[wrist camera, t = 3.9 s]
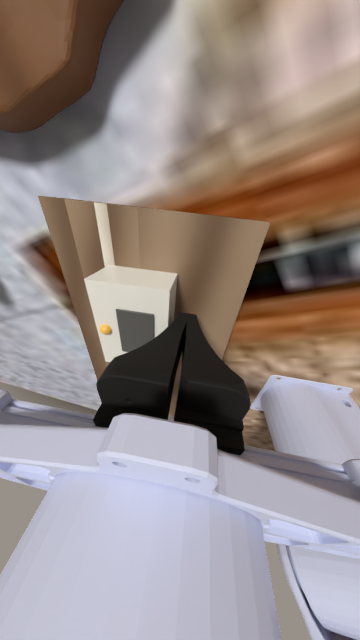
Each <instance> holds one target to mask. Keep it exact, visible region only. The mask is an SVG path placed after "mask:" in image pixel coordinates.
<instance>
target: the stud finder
mask: <svg viewBox="0 0 360 640" xmlns="http://www.w3.org/2000/svg"><path fill="white" fill-rule="evenodd" d="M84 281H85V285H86V289H87V293H88V296H89V300H90V304H91V308H92V312H93V316H94V319H95V323H96V327H97V331H98V335H99V338H100V342H101V346H102V350H103V354H104V358H105V361H106V362H111V361H112V360H113V359H114V357H117V356H120V355H122V354H125V353H127V352H130V351H132V350H134V349H137V348H139V347H141V346H143V345H144V344H146V343H148V342H149V341H151V340H152V339H154V338H155V337H156V336H158V335H159V334H160V333H162V332H163V331H164V330H165V329H166V328H167V327H168V326H169V325H170V324H171V323H172V322H173V321H174V312H175V299H176V287H177V273H169V272H161V271H154V270H146V269H138V268H130V267H123V266H115V265H108V266H107V267H105V268H103V269H101V270H99V271H98V272H96V273H94V274H92V275H90V276H88V277H87V278H85V279H84Z"/></svg>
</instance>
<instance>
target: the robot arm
mask: <svg viewBox="0 0 360 640" xmlns="http://www.w3.org/2000/svg"><path fill="white" fill-rule="evenodd" d="M181 354H182V366H181V377H180V384H179V390H178V396H177V403H176V409H175V415H174V421H171V420H168V416H169V411H170V405H171V399H172V394H173V388H174V382H175V377H176V372H177V368H178V365H179V361H180V358H181ZM278 377H280V378H281V379H279V380H277V379H276V378H278ZM337 388H342V389H340V390H336V389H337ZM97 390H98V393H99V396H100V399H101V402H102V404H101V406H100V408H99V409H98V411H97V413H96V415H90V414H85V413H80V412H75V411H70V410H65V409H60V408H55V407H50V406H45V405H40V404H35V403H29V402H25V401H20V400H15V399H13V397H12V396H11V395H10V394H9V393H8V392H7V391H5V390H3V389H0V478H3V479H7V480H11V481H14V482H18V483H21V484H25V485H29V486H32V487H36V488H39V489H43V490H47V491H48V492H47V494H46V496H45V497H44V499H43V501H42V503H41V504H40V506H39V508H38V510H37V511H36V513H35V515H34V517H33V518H32V520H31V522H30V524H29V525H28V527H27V529H26V531H25V532H24V534H23V536H22V538H21V539H20V541H19V543H18V545H17V546H16V548H15V550H14V552H13V554H12V555H11V557H10V559H9V561H8V562H7V564H6V566H5V568H4V570H3V571H2V573H1V575H0V640H282V639H281V634H280V628H279V623H278V617H277V611H276V606H275V599H274V594H273V588H272V582H271V577H270V571H269V565H268V560H267V554H266V548H265V543H264V541H266V542H272V543H276V546H277V551H278V554H279V558H280V562H281V565H282V568H283V571H284V574H285V577H286V579H287V582H288V584H289V587H290V589H291V591H292V593H293V595H294V597H295V599H296V602H297V604H298V606H299V609H300V611H301V614H302V617H303V619H304V622H305V625H306V628H307V630H308V633H309V636H310V639H311V640H360V408H359V407H358V405H357V404H356V403H355V402H354V400H353V399H352V398H351V396H350V395H349V394H350V393H351V392H352V391H353V389H352V388H349V387H343V386H337V385H332V384H326V383H320V382H314V381H308V380H302V379H296V378H291V377H285V376H279V375H272V376H270V377H269V379H268V380H267V382H266V383H265V385H264V386H263V388H262V389H261V391H260V392H259V394H258V395H257V397H256V398H255V400H254V401H253V403H252V404H250V398H249V394H248V391H247V388H246V386H245V383H244V380H243V379H242V378H241V377H239V376H238V375H237V374H236V373H235V372H233V371H232V370H231V369H230V368H229V367H228V366H227V365H226V364H225V363H224V362H223V361H222V360H221V359H220V358H219V356H218V355H217V354H216V353H215V352H214V350H213V349H212V347H211V346H210V344H209V343H208V341H207V339H206V338H205V336H204V334H203V332H202V329H201V327H200V325H199V322H198V318H197V315H196V314H190V313H183V312H180V313H179V314H178V316H177V317H176V318H175V320H174V321H173V322H172V323H171V324H170V325H169V326H168V327H167V328H166V329H165V330H164V331H163V332H162V333H160V334H159V335H158V336H156V337H155V338H154V339H152V340H151V341H149V342H148V343H146V344H144V345H143V346H141V347H139V348H137V349H134V350H132V351H130V352H127V353H125V354H122V355H120V356H117V357H114V359H113V360H112V361H111V362H110V363H109V365H108V366H107V367H106V369H105V370H104V372H103V373H102V375H101V376H100V378H99V379H98V381H97ZM256 407H258V408H259V409H256ZM250 408H251V409H254V410H259V411H264V415H265V418H266V422H267V425H268V429H269V432H270V436H271V439H272V443H273V446H274V450H275V451H272V450H267V449H262V448H257V447H252V446H247V445H244V442H243V436H242V431H243V428H244V427H243V421H242V419H243V418H244V416H245V415H246V413H247V412H248V410H249V409H250Z"/></svg>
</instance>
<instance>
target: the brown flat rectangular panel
mask: <svg viewBox="0 0 360 640" xmlns="http://www.w3.org/2000/svg"><path fill="white" fill-rule="evenodd" d="M38 197H39V200H40V204H41V207H42V210H43V213H44V216H45V219H46V222H47V225H48V228H49V231H50V234H51V238H52V241H53V244H54V247H55V250H56V253H57V256H58V259H59V262H60V265H61V268H62V272H63V275H64V278H65V281H66V284H67V287H68V290H69V293H70V296H71V299H72V303H73V306H74V309H75V312H76V315H77V318H78V321H79V324H80V327H81V330H82V333H83V337H84V340H85V343H86V346H87V349H88V352H89V355H90V358H91V361H92V364H93V367H94V371H95V374H96V377H97V380H98V379H99V378H100V376H101V375H102V373H103V372H104V370H105V369H106V367H107V366H108V365H109V363H110V362H106V361H105V358H104V354H103V350H102V346H101V342H100V338H99V335H98V331H97V327H96V323H95V319H94V316H93V312H92V308H91V304H90V300H89V296H88V293H87V289H86V285H85V281H84V279H85V278H87V277H88V276H90V275H92V274H94V273H96V272H98V271H99V270H101V269H103V268H105V267H107V266H108V265H115V266H123V267H130V268H138V269H146V270H154V271H161V272H169V273H177V287H176V299H175V312H174V320H175V318H176V317H177V316H178V314H179V313H180V312H183V313H190V314H196V315H197V318H198V322H199V325H200V327H201V329H202V332H203V334H204V336H205V338H206V339H207V341H208V343H209V344H210V346H211V347H212V349H213V350H214V352H215V353H216V354H217V355H218V356H219V358H220V359H221V360H222V358H223V355H224V352H225V349H226V346H227V343H228V341H229V338H230V335H231V332H232V329H233V326H234V324H235V321H236V318H237V315H238V312H239V309H240V307H241V304H242V301H243V298H244V295H245V292H246V290H247V287H248V284H249V281H250V278H251V276H252V273H253V270H254V267H255V264H256V261H257V259H258V256H259V253H260V250H261V247H262V244H263V242H264V239H265V236H266V233H267V230H268V227H269V225H270V222H264V221H257V220H249V219H240V218H231V217H222V216H214V215H205V214H196V213H188V212H179V211H170V210H161V209H153V208H144V207H135V206H126V205H118V204H109V203H100V202H92V201H83V200H74V199H65V198H55V197H45V196H38ZM181 366H182V354H181V358H180V361H179V365H178V368H177V372H176V377H175V382H174V388H173V394H172V399H171V405H170V411H169V415H172V416H174V415H175V409H176V403H177V396H178V390H179V384H180V377H181Z"/></svg>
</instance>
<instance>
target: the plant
mask: <svg viewBox="0 0 360 640" xmlns="http://www.w3.org/2000/svg"><path fill="white" fill-rule="evenodd" d="M122 2H123V0H0V129H1V130H4V131H8V132H23V131H29V130H33V129H36V128H38V127H40V126H42V125H43V124H45V123H46V122H47V121H49V120H50V119H51V118H52V117H54V116H55V115H56V114H57V113H59V112H60V111H62V110H63V109H65V108H66V107H68V106H69V105H71V104H72V103H74V102H75V101H77V100H78V99H80V98H81V97H82V96H84V95H85V94H86V93H87V92H88V91H89V90H90V88H91V86H92V84H93V81H94V78H95V73H96V69H97V64H98V60H99V55H100V50H101V47H102V43H103V40H104V37H105V34H106V31H107V28H108V26H109V24H110V22H111V20H112V19H113V17H114V15H115V13H116V12H117V10H118V8H119V7H120V5H121V3H122Z"/></svg>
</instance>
